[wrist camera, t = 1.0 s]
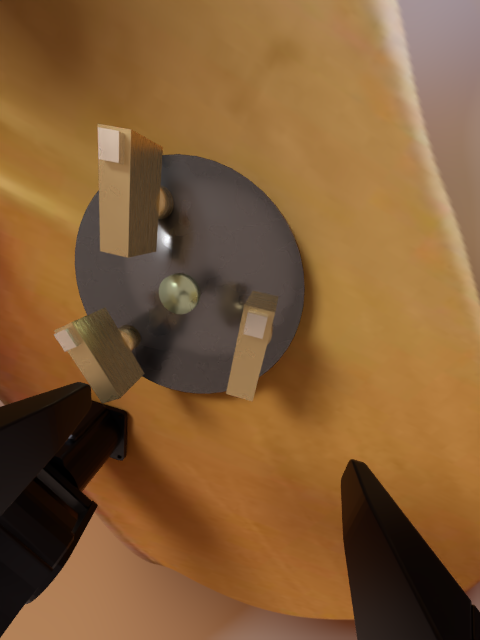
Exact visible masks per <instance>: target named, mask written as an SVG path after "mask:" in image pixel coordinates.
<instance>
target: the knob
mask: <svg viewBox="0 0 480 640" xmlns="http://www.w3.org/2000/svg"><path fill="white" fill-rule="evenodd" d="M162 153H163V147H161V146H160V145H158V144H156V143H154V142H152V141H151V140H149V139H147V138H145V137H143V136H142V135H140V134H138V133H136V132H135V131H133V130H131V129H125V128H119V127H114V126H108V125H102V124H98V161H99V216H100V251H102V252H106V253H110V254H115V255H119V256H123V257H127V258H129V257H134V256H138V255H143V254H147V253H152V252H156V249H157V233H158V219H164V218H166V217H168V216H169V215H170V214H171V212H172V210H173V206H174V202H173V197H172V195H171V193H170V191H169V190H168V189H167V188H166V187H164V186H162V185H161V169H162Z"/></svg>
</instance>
